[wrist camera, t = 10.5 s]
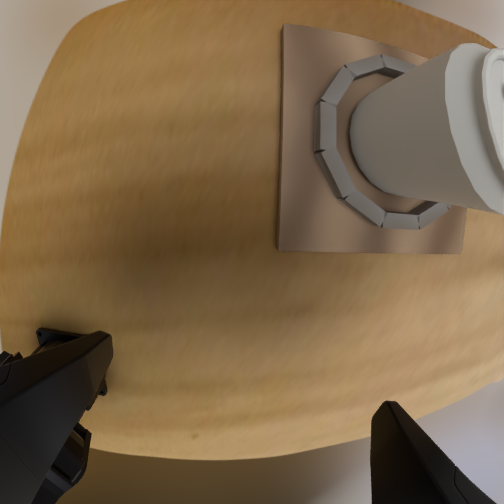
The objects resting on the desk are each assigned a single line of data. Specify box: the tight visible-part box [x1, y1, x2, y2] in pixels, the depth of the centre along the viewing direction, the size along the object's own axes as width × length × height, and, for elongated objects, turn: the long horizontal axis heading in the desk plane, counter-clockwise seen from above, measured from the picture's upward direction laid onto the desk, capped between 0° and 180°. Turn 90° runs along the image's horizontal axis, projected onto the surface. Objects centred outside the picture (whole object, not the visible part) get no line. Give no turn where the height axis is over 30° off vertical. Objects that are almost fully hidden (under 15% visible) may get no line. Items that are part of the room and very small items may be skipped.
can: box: [350, 43, 504, 215], centre depth 11 cm, size 8×8×12 cm
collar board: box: [276, 24, 467, 254], centre depth 17 cm, size 16×16×3 cm
